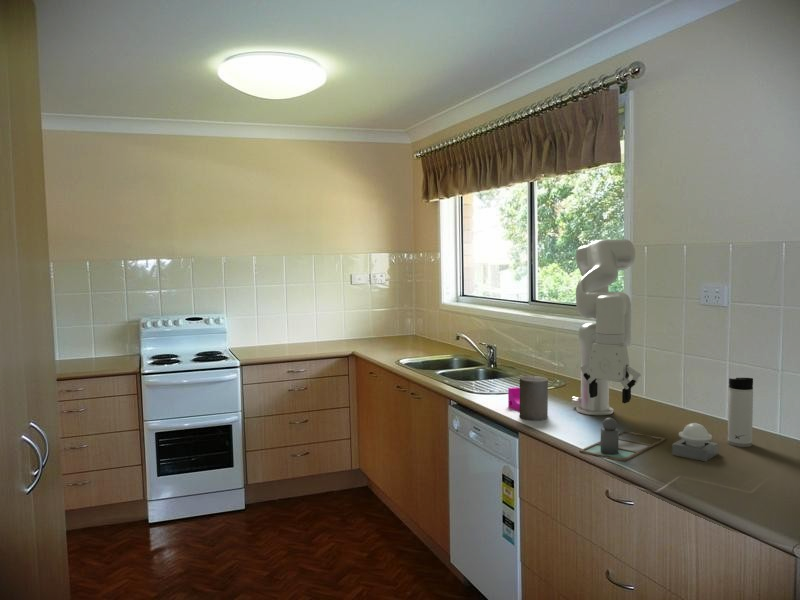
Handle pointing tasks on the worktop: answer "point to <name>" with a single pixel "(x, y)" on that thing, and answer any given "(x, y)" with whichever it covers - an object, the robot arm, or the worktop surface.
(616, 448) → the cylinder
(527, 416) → the pillar candle
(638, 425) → the worktop surface
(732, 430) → the travel mug
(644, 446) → the brown flat rectangular frame
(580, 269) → the robot arm
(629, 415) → the worktop surface
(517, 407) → the toy block
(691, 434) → the dome
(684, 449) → the collar
